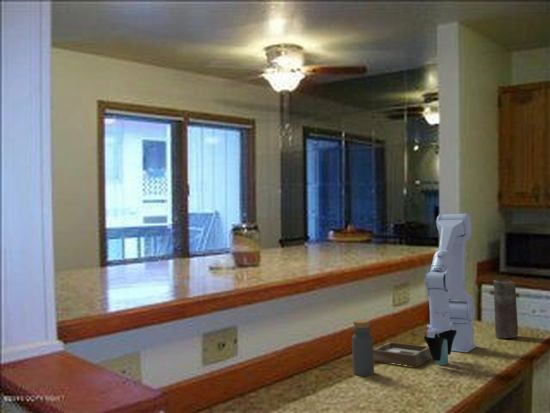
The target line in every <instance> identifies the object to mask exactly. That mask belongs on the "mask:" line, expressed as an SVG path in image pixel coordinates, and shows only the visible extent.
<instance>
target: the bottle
mask: <svg viewBox="0 0 550 413" xmlns="http://www.w3.org/2000/svg"><path fill="white" fill-rule="evenodd" d="M370 322H371V321H370V320H369V319H365V318H364V319H363V318H361V319H355V320H353V322H352V323H353V327H352V331H353V332H354V334H353V335H352V336H351V345H352V348H351V349H352V370H353V375H355V376H361V377H367V376H368V375H369V376H372V375H374V374H375V369H374V368H375V367H374V366H375V365H374V363H375V362H374V361H373V349H374V344H373V336H372V334H370V331H372V328H371V326H370ZM373 373H374V374H373ZM371 374H372V375H371Z"/></svg>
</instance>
